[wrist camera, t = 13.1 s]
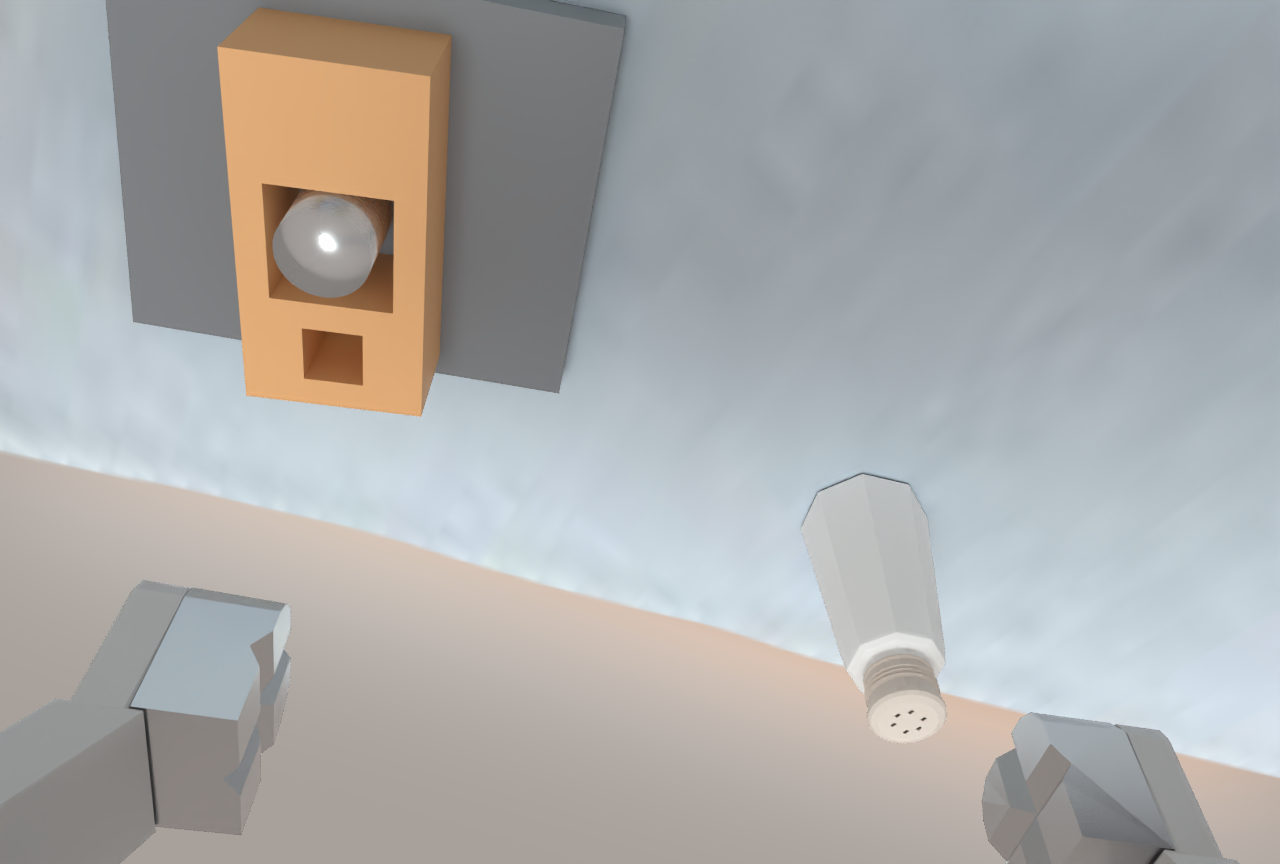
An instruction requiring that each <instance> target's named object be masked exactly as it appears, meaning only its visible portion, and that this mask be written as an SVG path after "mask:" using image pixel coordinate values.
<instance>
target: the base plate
mask: <svg viewBox="0 0 1280 864" xmlns="http://www.w3.org/2000/svg"><path fill="white" fill-rule="evenodd" d="M258 8H266V9H273V10H280V11H287V12H294V13H301V14H308V15H315V16H322V17H329V18H336V19H343V20H350V21H357V22H364V23H371V24H378V25H385V26H392V27H399V28H406V29H413V30H420V31H427V32H434V33H441V34H448V35H452V40H451V66H450V93H449V119H448V146H447V173H446V199H445V226H444V252H443V279H442V305H441V332H440V356H439V359H438V363H437V366H436V369H435V373H441V374H447V375H453V376H459V377H465V378H471V379H477V380H483V381H489V382H495V383H501V384H507V385H513V386H519V387H525V388H531V389H537V390H543V391H548V392H554V393H559V390H560V385H561V379H562V374H563V368H564V363H565V357H566V352H567V346H568V341H569V335H570V330H571V324H572V319H573V313H574V307H575V302H576V296H577V291H578V285H579V280H580V274H581V269H582V263H583V258H584V252H585V247H586V241H587V236H588V230H589V224H590V219H591V213H592V208H593V202H594V197H595V191H596V186H597V180H598V175H599V169H600V164H601V158H602V153H603V147H604V141H605V136H606V130H607V125H608V119H609V114H610V108H611V103H612V97H613V92H614V86H615V81H616V75H617V70H618V64H619V58H620V53H621V47H622V42H623V36H624V31H625V21H626V16H625V15H620V14H615V13H610V12H605V11H600V10H595V9H590V8H585V7H580V6H575V5H570V4H565V3H560V2H555V1H551V0H106V9H107V20H108V32H109V44H110V56H111V67H112V79H113V91H114V102H115V114H116V126H117V138H118V149H119V161H120V173H121V184H122V196H123V208H124V220H125V231H126V243H127V255H128V266H129V278H130V290H131V302H132V313H133V322H137V323H143V324H149V325H155V326H161V327H167V328H173V329H179V330H185V331H191V332H197V333H203V334H209V335H215V336H221V337H227V338H233V339H238V340H242V336H241V324H240V312H239V301H238V289H237V277H236V265H235V253H234V241H233V229H232V217H231V205H230V193H229V181H228V169H227V157H226V145H225V134H224V122H223V110H222V98H221V86H220V74H219V62H218V50H217V46H218V45H219V44H220V43H222V42H223V41H224V40H225V39H226V38H227V37H228V36H229V35H230V34H231V33H232V32H233V31H234V30H235V29H236V28H237V27H238V26H240V25H241V24H242V23H243V22H244V21H245V20H246V19H247V18H248V17H249V16H250V15H251V14H252V13H253V12H254V11H255V10H256V9H258ZM301 190H302V189H301V188H299V193H300V191H301ZM379 253H383V254H391V255H394V220H393V222H392V224H391V227H390V229H389V231H388V233H387V235H386V238H385V240H384V242H383V244H382V246H381V249H380V251H379Z"/></svg>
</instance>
